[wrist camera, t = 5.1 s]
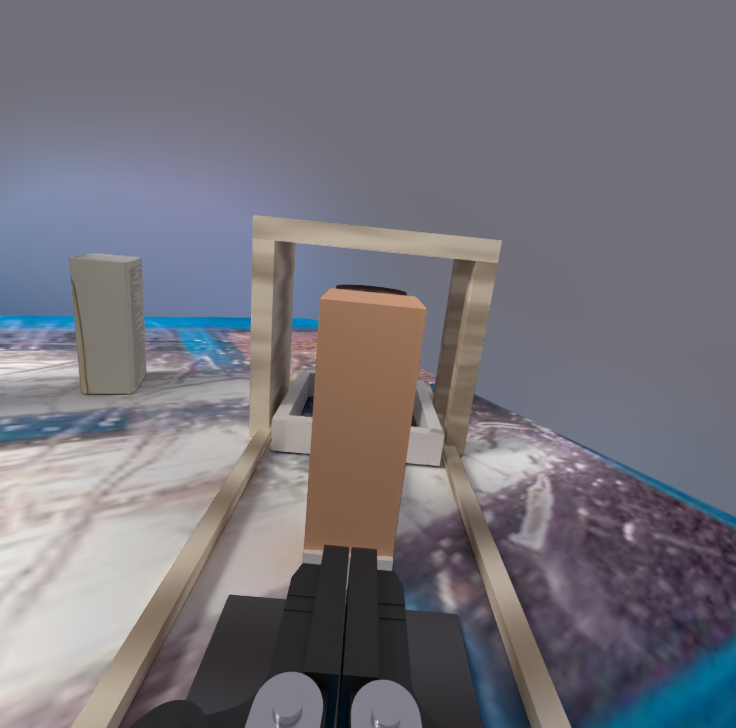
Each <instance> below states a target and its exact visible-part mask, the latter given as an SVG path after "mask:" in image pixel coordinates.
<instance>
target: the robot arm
mask: <svg viewBox="0 0 736 728" xmlns="http://www.w3.org/2000/svg"><path fill="white" fill-rule="evenodd" d="M348 560H349V547H346V546H336V545H324V549H323V555H322V561H321V565H320V564H309V563H303V564H302V565H301V566H300V567H299V569H298V570H297V571H296V572H295V574H294V575H293V576H292V578H291V582H290V586H289V591H288V595H287V599H286V603H285V607H284V612H283V615H282V619H281V623H280V627H279V631H278V635H277V640H276V644H275V648H274V652H273V656H272V660H271V664H270V668H269V672H268V675H267V677H266V679H265V681H264V683H263V684H262V686H261V687H260V689H259V690H258V691H257V692H256V693H255V694H254V695H253V696H252V697H251V698H250V699H248V700H247V701H245V702H244V703H242V704H240V705H238V706H236V707H233V708H230V709H227V710H223V711H220V712H216V713H212V714H209V715H204V713H203V711H202V710H201V709H200V707H199V706H197V705H196V704H194V703H192V702H190V701H185V700H174V701H170V702H166V703H164V704H161V705H159V706H157V707H156V708H154V709H152V710H151V711H150V712H148V713H147V714H146V715H144V716H143V717H142V718H141V719H139V720H138V721H137V722H135V723H134V724H133V725H132V726H130V727H129V728H334V722H335V713H336V703H337V694H338V685H339V697H338V710H337V723H336V728H446V727H444V726H442V725H441V724H439V723H437V722H436V721H435V720H433V719H432V718H431V717H430V716H429V715H428V714H427V713H426V712H425V711H424V710H423V708H422V707H421V705H420V704H419V702H418V700H417V698H416V696H415V694H414V690H413V686H412V679H411V668H410V657H409V645H408V634H407V624H406V611H405V600H404V589H403V586H402V584H401V582H400V580H399V578H398V577H397V575H396V573H395V571H388V570H377V549H370V548H359V547H352V548H351V557H350V567H349V576H348V586H347V573H348ZM346 586H347V596H346ZM345 599H346V606H345ZM344 611H345V619H344ZM343 624H344V632H343ZM342 637H343V645H342ZM341 650H342V658H341ZM340 663H341V671H340ZM339 675H340V684H339Z"/></svg>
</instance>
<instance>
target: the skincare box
mask: <svg viewBox="0 0 736 728" xmlns="http://www.w3.org/2000/svg"><path fill="white" fill-rule="evenodd" d="M69 261H70V272H71V282H72V283H71V284H72V296H73V307H74V318H75V330H76V341H77V353H78V363H79V374H80V385H81V393H82V394H133V393H134V392H135V390H136V389H137V388H138V386H139V385H140V383H141V381H142V380H143V378H144V376H145V374H146V352H145V328H144V305H143V283H142V258H141V257H129V256H118V255H108V254H98V253H89V254H84V255H80V256H75V257H70V258H69Z"/></svg>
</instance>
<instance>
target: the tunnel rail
mask: <svg viewBox="0 0 736 728" xmlns="http://www.w3.org/2000/svg"><path fill="white" fill-rule="evenodd" d="M501 242H502V241H501V240H491V239H480V238H471V237H462V236H452V235H442V234H432V233H422V232H413V231H403V230H393V229H383V228H374V227H364V226H354V225H344V224H334V223H325V222H315V221H305V220H295V219H286V218H276V217H265V216H255V215H253V252H252V307H251V362H250V417H249V436H251V437H253V438H252V440H251V441H250V443H249V444H248V446H247V448H246V449H245V451H244V452H243V454H242V456H241V457H240V459H239V460H238V462H237V464H236V465H235V467H234V468H233V470H232V471H231V473H230V475H229V476H228V478H227V479H226V481H225V483H224V484H223V486H222V487H221V489H220V491H219V492H218V494H217V495H216V497H215V499H214V500H213V502H212V503H211V505H210V507H209V508H208V510H207V511H206V513H205V514H204V516H203V518H202V519H201V521H200V522H199V524H198V526H197V527H196V529H195V530H194V532H193V534H192V535H191V537H190V538H189V540H188V542H187V543H186V545H185V546H184V548H183V549H182V551H181V553H180V554H179V556H178V557H177V559H176V561H175V562H174V564H173V565H172V567H171V569H170V570H169V572H168V573H167V575H166V577H165V578H164V580H163V581H162V583H161V584H160V586H159V588H158V589H157V591H156V592H155V594H154V596H153V597H152V599H151V600H150V602H149V604H148V605H147V607H146V608H145V610H144V612H143V613H142V615H141V616H140V618H139V619H138V621H137V623H136V624H135V626H134V627H133V629H132V631H131V632H130V634H129V635H128V637H127V639H126V640H125V642H124V643H123V645H122V647H121V648H120V650H119V651H118V653H117V654H116V656H115V658H114V659H113V661H112V662H111V664H110V666H109V667H108V669H107V670H106V672H105V674H104V675H103V677H102V678H101V680H100V682H99V683H98V685H97V686H96V688H95V689H94V691H93V693H92V694H91V696H90V697H89V699H88V701H87V702H86V704H85V705H84V707H83V709H82V710H81V712H80V713H79V715H78V717H77V718H76V720H75V721H74V723H73V724H72V726H71V728H118V727H119V725H120V723H121V721H122V720H123V718H124V716H125V714H126V712H127V710H128V708H129V706H130V704H131V703H132V701H133V699H134V697H135V695H136V693H137V691H138V689H139V687H140V685H141V684H142V682H143V680H144V678H145V676H146V674H147V672H148V670H149V668H150V667H151V665H152V663H153V661H154V659H155V657H156V655H157V653H158V651H159V650H160V648H161V646H162V644H163V642H164V640H165V638H166V636H167V634H168V633H169V631H170V629H171V627H172V625H173V623H174V621H175V619H176V617H177V616H178V614H179V612H180V610H181V608H182V606H183V604H184V602H185V600H186V599H187V597H188V595H189V593H190V591H191V589H192V587H193V585H194V583H195V582H196V580H197V578H198V576H199V574H200V572H201V570H202V568H203V566H204V565H205V563H206V561H207V559H208V557H209V555H210V553H211V551H212V549H213V548H214V546H215V544H216V542H217V540H218V538H219V536H220V534H221V532H222V531H223V529H224V527H225V525H226V523H227V521H228V519H229V517H230V515H231V514H232V512H233V510H234V508H235V506H236V504H237V502H238V500H239V498H240V497H241V495H242V493H243V491H244V489H245V487H246V485H247V483H248V481H249V480H250V478H251V476H252V474H253V472H254V470H255V468H256V466H257V464H258V463H259V461H260V459H261V457H262V455H263V453H264V451H265V449H266V447H267V446H268V444H269V442H270V440H271V432H272V418H273V416H274V415H275V413H276V411H277V410H278V408H279V406H280V405H281V403H282V401H283V399H284V398H285V396H286V394H287V393H288V391H289V389H290V387H291V386H292V384H293V382H294V381H295V379H296V377H297V375H298V374H299V372H300V369H296V370H295V371H294V373H293V374H292V376H291V378H290V379H289V375H290V354H291V332H292V310H293V289H294V267H295V246H296V243H304V244H314V245H324V246H335V247H344V248H354V249H364V250H374V251H384V252H393V253H403V254H413V255H423V256H433V257H443V258H453V259H454V262H453V269H452V275H451V282H450V289H449V295H448V302H447V309H446V315H445V321H444V328H443V335H442V342H441V348H440V355H439V361H438V368H437V375H436V381H435V388H434V394H433V392H432V389H431V387H430V385H429V382H425V381H424V383H425V385H426V388H427V391H428V393H429V396H430V398H431V401H432V404H433V406H434V409H435V412H436V414H437V417H438V419H439V422H440V425H441V427H442V430H443V432H444V435H445V436H444V442H443V448H442V454H441V456H442V459H443V462H444V465H445V468H446V471H447V474H448V477H449V480H450V483H451V486H452V489H453V492H454V495H455V498H456V501H457V504H458V507H459V510H460V513H461V516H462V519H463V523H464V526H465V529H466V532H467V535H468V538H469V541H470V544H471V547H472V550H473V553H474V556H475V559H476V562H477V565H478V568H479V571H480V574H481V577H482V580H483V583H484V586H485V589H486V592H487V595H488V598H489V601H490V604H491V607H492V611H493V614H494V617H495V620H496V623H497V626H498V629H499V632H500V635H501V638H502V641H503V644H504V647H505V650H506V653H507V656H508V659H509V662H510V665H511V668H512V671H513V674H514V677H515V680H516V683H517V686H518V689H519V692H520V695H521V698H522V702H523V705H524V708H525V711H526V714H527V717H528V720H529V723H530V726H531V728H571V726H570V723H569V721H568V719H567V716H566V714H565V711H564V709H563V706H562V704H561V702H560V699H559V697H558V694H557V692H556V690H555V687H554V685H553V682H552V680H551V677H550V675H549V673H548V670H547V668H546V665H545V663H544V660H543V658H542V656H541V653H540V651H539V648H538V646H537V644H536V641H535V639H534V636H533V634H532V631H531V629H530V627H529V624H528V622H527V619H526V617H525V614H524V612H523V610H522V607H521V605H520V602H519V600H518V598H517V595H516V593H515V590H514V588H513V585H512V583H511V581H510V578H509V576H508V573H507V571H506V569H505V566H504V564H503V561H502V559H501V556H500V554H499V552H498V549H497V547H496V544H495V542H494V539H493V537H492V535H491V532H490V530H489V527H488V525H487V523H486V520H485V518H484V515H483V513H482V510H481V508H480V506H479V503H478V501H477V498H476V496H475V493H474V491H473V489H472V486H471V484H470V481H469V479H468V477H467V474H466V472H465V469H464V467H463V464H462V462H461V460H460V457H459V456H463V452H464V447H465V441H466V436H467V430H468V425H469V419H470V414H471V408H472V403H473V397H474V391H475V386H476V380H477V375H478V369H479V364H480V358H481V353H482V347H483V341H484V336H485V330H486V325H487V319H488V314H489V308H490V302H491V297H492V292H493V286H494V281H495V275H496V270H497V264H498V258H499V253H500V247H501ZM285 603H286V599H274V598H263V597H251V596H240V595H229V596H228V599H227V601H226V604H225V606H224V608H223V611H222V613H221V616H220V618H219V621H218V623H217V625H216V628H215V630H214V633H213V635H212V638H211V640H210V642H209V645H208V647H207V650H206V652H205V655H204V657H203V659H202V662H201V664H200V667H199V669H198V671H197V674H196V676H195V679H194V681H193V684H192V686H191V688H190V691H189V693H188V696H187V698H186V701H190V702H192V703H194V704H196V705H197V706H199V707H200V709H201V710H202V711H203V713H204V715H209V714H212V713H216V712H220V711H223V710H227V709H230V708H233V707H236V706H238V705H240V704H242V703H244V702H245V701H247V700H248V699H250V698H251V697H252V696H253V695H254V694H255V693H256V692H257V691H258V690H259V689H260V687H261V686H262V684H263V683H264V681H265V679H266V677H267V675H268V672H269V668H270V664H271V660H272V656H273V652H274V648H275V644H276V640H277V635H278V631H279V627H280V623H281V619H282V615H283V612H284V607H285ZM345 606H346V605H345ZM405 611H406V624H407V634H408V645H409V657H410V668H411V679H412V686H413V690H414V694H415V696H416V698H417V700H418V702H419V704H420V705H421V707H422V708H423V710H424V711H425V712H426V713H427V714H428V715H429V716H430V717H431V718H432V719H433V720H435V721H436V722H437V723H439V724H441V725H442V726H444V727H446V728H483V726H482V721H481V717H480V713H479V708H478V704H477V699H476V695H475V691H474V686H473V682H472V678H471V673H470V669H469V665H468V660H467V656H466V652H465V647H464V643H463V638H462V634H461V630H460V625H459V621H458V617H457V614H446V613H435V612H423V611H412V610H405ZM344 619H345V611H344ZM343 632H344V624H343ZM342 645H343V637H342ZM341 658H342V650H341ZM340 671H341V663H340ZM339 684H340V675H339ZM338 697H339V685H338V694H337V703H336V713H335V722H334V728H336V723H337V710H338Z"/></svg>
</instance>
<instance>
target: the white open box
mask: <svg viewBox="0 0 736 728" xmlns="http://www.w3.org/2000/svg"><path fill="white" fill-rule="evenodd" d="M426 313H427V309H426V308H425V306H424V305H423V304H422V303H421V302H420V301H419V300H418V299H417V297H414V296H404V295H394V294H384V293H374V292H364V291H354V290H344V289H333V288H331V289H329V290H328V291H327V293H325V294H324V295H323V297H322V298H321V299H320V310H319V324H318V340H317V355H316V370H306V369H301V370H300V372H299V374H298V375H297V377H296V379H295V381H294V382H293V384H292V386H291V387H290V389H289V391H288V393H287V394H286V396H285V398H284V399H283V401H282V403H281V405H280V406H279V408H278V410H277V411H276V413H275V415H274V416H273V418H272V432H271V450H272V451H283V452H294V453H305V454H310V463H309V479H308V494H307V510H306V525H305V541H304V551H303V562H302V564H303V563H309V564H320V565H321V561H322V555H323V549H324V545H336V546H346V547H349V560H348V573H347V586H348V576H349V567H350V557H351V548H352V547H359V548H370V549H377V570H388V571H392V565H393V552H394V545H395V538H396V530H397V523H398V516H399V509H400V501H401V494H402V487H403V480H404V472H405V465H406V463H412V464H423V465H434V466H440V460H441V454H442V448H443V442H444V436H445V435H444V432H443V430H442V427H441V425H440V422H439V419H438V417H437V414H436V412H435V409H434V406H433V404H432V401H431V398H430V396H429V393H428V391H427V388H426V385H425V383H424V381H421V380H417V378H418V371H419V363H420V356H421V349H422V342H423V334H424V326H425V320H426ZM308 396H309V397H314V402H313V417H305V416H300V414H301V412H302V410H303V407H304V405H305V403H306V400H307V398H308ZM413 413H414V417H415V421H416V425H417V427H411V422H412V414H413ZM347 586H346V590H347Z"/></svg>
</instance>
